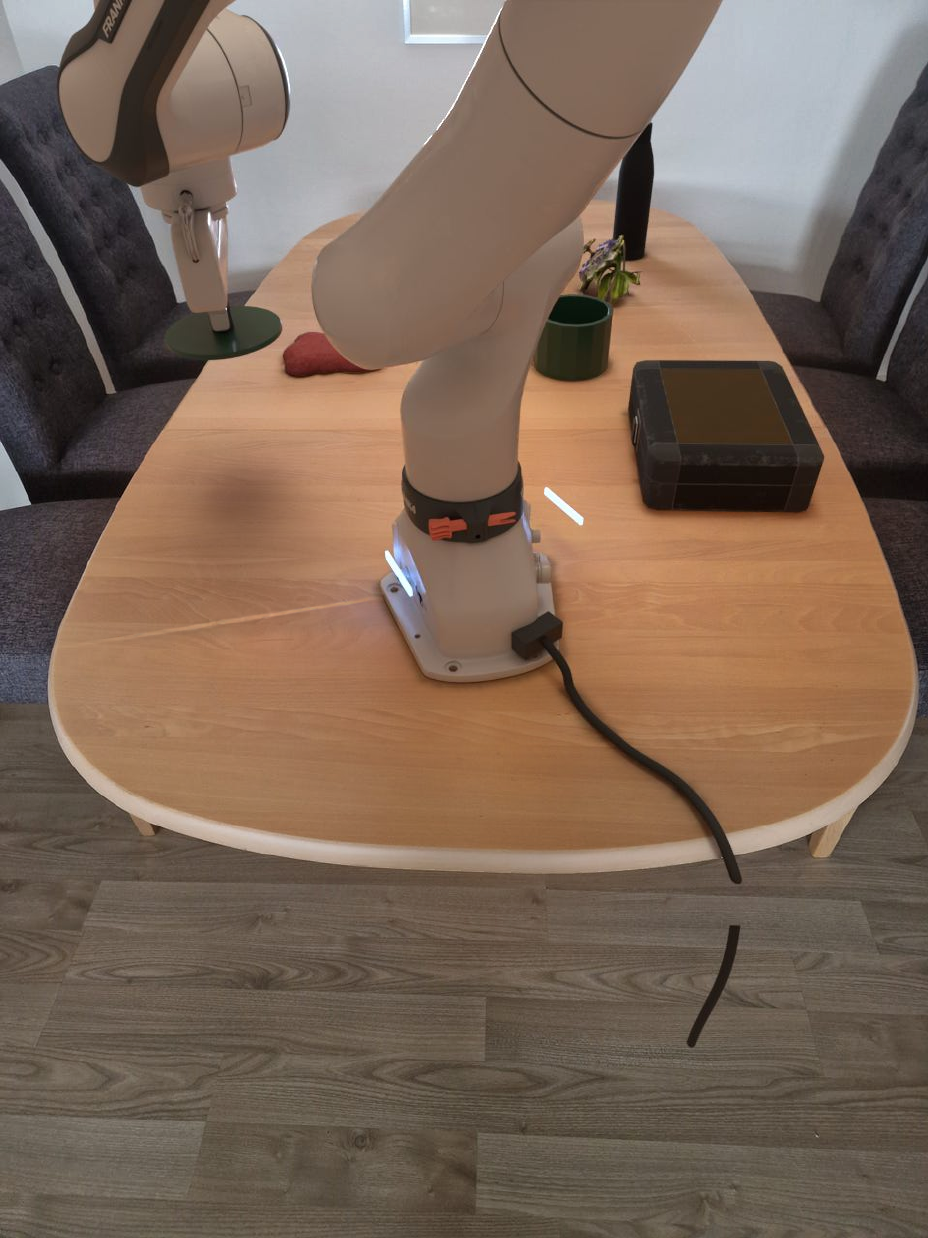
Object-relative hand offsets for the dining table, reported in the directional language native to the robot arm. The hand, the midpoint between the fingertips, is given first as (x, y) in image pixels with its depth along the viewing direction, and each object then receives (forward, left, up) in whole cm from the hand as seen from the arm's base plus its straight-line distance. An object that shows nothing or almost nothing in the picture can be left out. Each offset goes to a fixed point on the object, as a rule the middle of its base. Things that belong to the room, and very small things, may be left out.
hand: (222, 320), depth 86 cm
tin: (+24, -48, -23) cm, 58 cm away
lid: (0, 0, -2) cm, 2 cm away
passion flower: (+48, -61, -23) cm, 82 cm away
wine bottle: (+65, -71, -23) cm, 100 cm away
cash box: (-5, -57, -23) cm, 62 cm away
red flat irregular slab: (+36, -12, -23) cm, 45 cm away
